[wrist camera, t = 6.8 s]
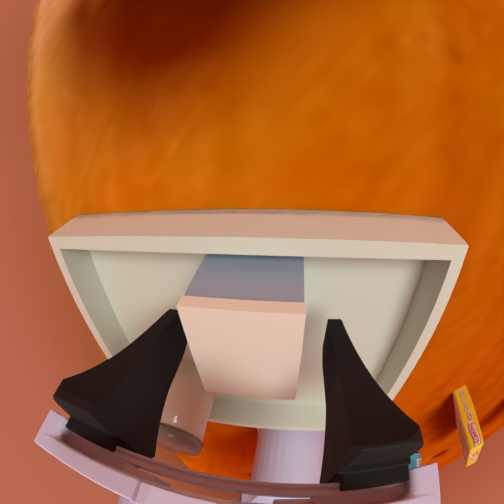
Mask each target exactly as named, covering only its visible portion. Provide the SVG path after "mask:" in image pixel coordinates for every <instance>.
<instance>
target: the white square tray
mask: <svg viewBox="0 0 504 504" xmlns="http://www.w3.org/2000/svg"><path fill="white" fill-rule="evenodd" d="M48 238H49V241H50V243H51V246H52V249H53V251H54V254H55V257H56V259H57V262H58V264H59V267H60V269H61V271H62V274H63V276H64V278H65V280H66V283H67V285H68V287H69V289H70V291H71V293H72V296H73V298H74V300H75V302H76V304H77V306H78V308H79V310H80V312H81V313H82V315H83V317H84V319H85V321H86V323H87V325H88V326H89V328H90V330H91V332H92V334H93V335H94V337H95V339H96V340H97V342H98V344H99V345H100V347H101V349H102V350H103V352H104V354H105V355H106V357H107V358H108V359H109V358H111V357H113V356H114V355H116V354H117V353H119V352H120V351H121V350H123V349H124V348H126V347H127V346H128V345H129V344H131V343H132V342H133V341H134V340H135V339H137V338H138V337H139V336H140V335H141V334H143V333H144V332H145V331H146V330H147V329H148V328H149V327H150V326H151V325H153V324H154V323H155V322H156V321H157V320H158V319H159V318H160V317H161V316H162V315H163V314H164V313H165V312H167V311H168V310H169V309H176V310H177V306H176V305H177V303H178V301H179V299H180V298H181V296H182V295H184V294H185V292H186V290H187V288H188V286H189V285H190V283H191V281H192V279H193V277H194V275H195V273H196V272H197V270H198V268H199V266H200V264H201V263H202V261H203V259H204V257H205V255H206V254H232V255H266V256H302V257H304V302H306V319H305V328H304V337H303V346H302V354H301V362H300V369H299V377H298V384H297V391H296V397H295V400H282V399H267V398H255V397H245V396H236V395H228V394H221V393H216V394H215V398H214V401H213V405H212V408H211V412H210V415H209V419H208V421H210V422H216V423H222V424H229V425H236V426H244V427H253V428H263V429H277V430H299V431H325V422H326V401H325V389H324V378H323V368H322V348H323V342H324V337H325V331H326V326H327V320H328V319H341V320H342V322H343V324H344V327H345V329H346V331H347V333H348V335H349V337H350V340H351V342H352V343H353V345H354V347H355V349H356V351H357V353H358V355H359V356H360V358H361V360H362V361H363V363H364V365H365V366H366V368H367V369H368V371H369V372H370V374H371V375H372V377H373V378H374V379H375V381H376V382H377V384H378V385H379V386H380V387H381V389H382V390H383V391H384V392H385V393H386V395H387V396H388V397H389V398H390V399H391V400H393V399H394V398H395V396H396V395H397V393H398V392H399V390H400V389H401V387H402V386H403V384H404V383H405V381H406V380H407V378H408V376H409V375H410V373H411V372H412V370H413V368H414V367H415V365H416V363H417V362H418V360H419V358H420V356H421V355H422V353H423V351H424V349H425V348H426V346H427V344H428V342H429V340H430V338H431V336H432V334H433V332H434V330H435V328H436V326H437V324H438V322H439V320H440V318H441V316H442V314H443V312H444V309H445V307H446V305H447V303H448V300H449V298H450V296H451V293H452V291H453V288H454V286H455V283H456V281H457V278H458V275H459V273H460V270H461V267H462V264H463V261H464V258H465V255H466V252H467V249H468V246H469V245H468V244H467V243H466V242H465V241H464V240H463V239H462V238H461V237H460V236H459V234H458V233H457V232H456V231H455V230H454V229H453V228H452V227H451V226H450V225H449V224H448V223H447V222H446V221H445V220H444V219H443V218H437V217H426V216H414V215H400V214H385V213H368V212H348V211H322V210H279V209H212V210H170V211H144V212H124V213H107V214H92V215H79V216H76V217H75V218H73V219H72V220H70V221H69V222H67V223H66V224H65V225H63V226H62V227H61V228H59V229H58V230H57V231H55V232H54V233H53V234H51V235H50V236H49V237H48ZM182 359H186V360H191V361H194V359H193V356H192V353H191V350H190V347H189V344H188V342H187V345H186V349H185V353H184V356H183V358H182Z"/></svg>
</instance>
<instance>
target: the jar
mask: <svg viewBox="0 0 504 504" xmlns="http://www.w3.org/2000/svg"><path fill="white" fill-rule="evenodd" d="M215 394H216V393H214V392H207V391H205V389H204V386H203V384H202V381H201V378H200V376H199V373H198V370H197V367H196V365H195V362H194V361H191V360H186V359H182V360H181V363H180V365H179V368H178V370H177V372H176V375H175V377H174V379H173V382H172V384H171V386H170V389H169V392H168V394H167V398H166V401H165V405H164V409H163V413H162V417H161V421H160V426H159V431H158V437H157V444H156V445H158V446H160V447H163V448H165V449H168V450H171V451H173V452H177V453H181V454H186V455H199V454H200V453H201V449H202V446H203V443H202V440H203V437H204V433H205V430H206V426H207V423H208V419H209V415H210V412H211V408H212V405H213V401H214V398H215Z"/></svg>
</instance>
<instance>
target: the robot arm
mask: <svg viewBox="0 0 504 504" xmlns="http://www.w3.org/2000/svg"><path fill="white" fill-rule="evenodd" d="M187 342H188V341H187V338H186V335H185V332H184V329H183V326H182V323H181V320H180V316H179V313H178V310H176V309H169V310H168V311H167V312H165V313H164V314H163V315H162V316H161V317H160V318H159V319H158V320H157V321H156V322H155V323H154V324H153V325H151V326H150V327H149V328H148V329H147V330H146V331H145V332H144V333H143V334H141V335H140V336H139V337H138V338H137V339H135V340H134V341H133V342H132V343H131V344H129V345H128V346H127V347H126V348H124V349H123V350H121V351H120V352H119V353H117V354H116V355H114V356H113V357H111V358H109V359H108V360H106V361H104V362H103V363H101V364H99V365H97V366H95V367H93V368H91V369H89V370H87V371H85V372H83V373H80V374H77V375H75V376H72V377H69V378H66V379H63V381H62V382H61V384H60V385H59V387H58V389H57V390H56V392H55V394H54V395H53V397H54V400H55V401H56V402H57V404H58V405H59V406H60V407H61V408H63V409H64V410H65V411H66V412H67V413H68V414H69V415H70V418H69V420H68V419H67V418H65V417H64V416H62V415H60V414H59V413H57V412H55V411H54V410H50V412H49V414H48V416H47V417H46V419H45V421H44V423H43V425H42V427H41V428H40V431H39V432H38V435H37V436H36V438H35V440H34V441H35V443H37V444H38V445H39V446H41V447H42V448H43V449H45V450H46V451H47V452H49V453H50V454H52V455H53V456H54V457H56V458H57V459H59V460H60V461H62V462H63V463H65V464H66V465H68V466H69V467H71V468H72V469H74V470H75V471H77V472H78V473H80V474H82V475H83V476H85V477H87V478H89V479H90V480H92V481H94V482H96V483H97V484H99V485H101V486H103V487H105V488H107V489H109V490H111V491H113V492H115V493H117V494H119V495H121V496H120V499H119V502H118V504H441V503H440V486H439V474H438V465H437V463H436V462H435V463H431V464H428V465H424V466H420V467H416V468H413V469H410V470H409V466H408V465H409V464H411V457H410V456H412V455H413V454H415V453H416V452H417V451H419V450H420V449H421V448H422V447H423V437H422V433H421V430H420V427H419V425H418V424H417V423H415V422H414V421H413V420H412V419H410V418H409V417H408V416H407V415H406V414H405V413H404V412H403V411H402V410H401V409H400V408H399V407H398V406H397V405H396V404H395V403H394V402H393V401H392V400H391V399H390V398H389V397H388V396H387V395H386V393H385V392H384V391H383V390H382V389H381V387H380V386H379V385H378V384H377V382H376V381H375V379H374V378H373V377H372V375H371V374H370V372H369V371H368V369H367V368H366V366H365V365H364V363H363V361H362V360H361V358H360V356H359V355H358V353H357V351H356V349H355V347H354V345H353V343H352V342H351V340H350V337H349V335H348V333H347V331H346V329H345V327H344V324H343V322H342V320H341V319H328V320H327V326H326V331H325V337H324V342H323V348H322V368H323V378H324V389H325V401H326V422H325V431H299V430H277V429H263V428H257V432H258V439H257V445H256V451H255V457H254V463H253V468H252V474H251V479H250V480H243V479H236V478H229V477H223V476H218V475H212V474H207V473H203V472H198V471H194V470H190V469H185V468H181V467H178V466H174V465H171V464H167V463H164V462H161V461H158V460H154V459H151V458H153V457H155V450H156V444H157V437H158V431H159V426H160V421H161V417H162V413H163V409H164V405H165V401H166V398H167V394H168V392H169V389H170V386H171V384H172V382H173V379H174V377H175V375H176V372H177V370H178V368H179V365H180V363H181V360H182V358H183V356H184V353H185V349H186V345H187ZM139 468H141V469H143V470H146V471H149V472H152V473H155V474H158V475H161V476H164V477H168V478H171V479H174V480H178V481H181V482H185V483H189V484H193V485H197V486H201V487H206V488H211V489H216V490H221V491H227V492H233V493H241V494H242V496H237V497H235V498H234V499H233V500H232V501H227V500H222V499H217V498H212V497H207V496H203V495H199V494H194V493H190V492H186V491H183V490H179V489H175V488H172V487H171V485H170V484H169V483H167V482H164V481H162V480H160V479H158V478H157V477H156V476H154V475H151V474H149V473H147V472H144V471H142V470H140V469H139Z"/></svg>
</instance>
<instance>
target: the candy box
mask: <svg viewBox="0 0 504 504" xmlns="http://www.w3.org/2000/svg"><path fill="white" fill-rule="evenodd" d="M452 393H453V401H454V408H455V416H456V426H457V430H458V434H459V438H460V442H461V446H462V450H463V455H464V459H465V464H466V466H469V465H471V464H473V463H474V462H476V460H477V457H478V455H479V452H480V450H481V448H482V445H483V443H484V442H483V437H482V433H481V429H480V426H479V422H478V419H477V416H476V413H475V409H474V406H473V403H472V401H471V398H470V395H469V392H468V390H467V387H466V385H464V386H462V387H460V388H458V389H456V390H455V391H453V392H452Z"/></svg>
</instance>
